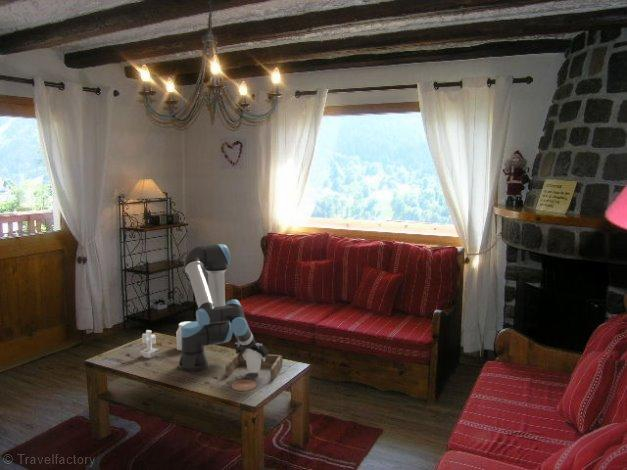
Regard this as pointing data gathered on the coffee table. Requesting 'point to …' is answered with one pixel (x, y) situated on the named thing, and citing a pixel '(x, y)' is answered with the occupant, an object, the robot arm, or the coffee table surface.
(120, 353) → the coffee table surface
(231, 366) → the wooden tray
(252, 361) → the foam cup
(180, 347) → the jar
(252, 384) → the terracotta pad
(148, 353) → the figurine
